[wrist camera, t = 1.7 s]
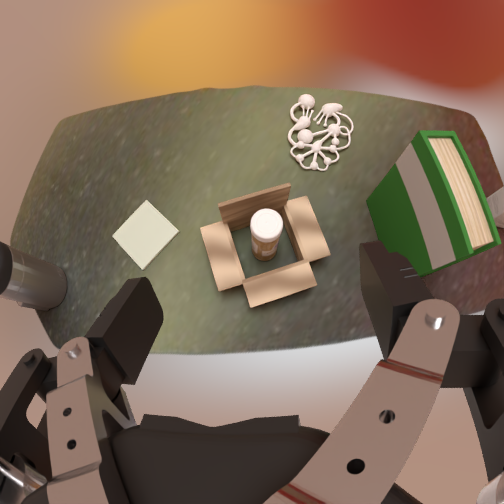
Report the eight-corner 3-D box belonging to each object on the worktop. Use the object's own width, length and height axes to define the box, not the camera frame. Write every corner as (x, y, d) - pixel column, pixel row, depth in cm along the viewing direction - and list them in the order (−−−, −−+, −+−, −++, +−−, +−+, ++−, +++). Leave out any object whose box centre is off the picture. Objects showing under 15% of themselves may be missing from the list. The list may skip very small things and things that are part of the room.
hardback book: (421, 277, 52) (501, 243, 28) (391, 286, 51) (469, 254, 28) (395, 196, 56) (454, 131, 33) (366, 200, 56) (419, 130, 33)
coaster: (143, 270, 53) (142, 269, 52) (113, 236, 55) (112, 235, 54) (179, 231, 55) (178, 230, 54) (147, 201, 56) (146, 199, 56)
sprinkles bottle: (273, 264, 53) (279, 242, 40) (248, 258, 53) (246, 234, 40) (279, 240, 54) (286, 211, 41) (254, 234, 54) (254, 204, 41)
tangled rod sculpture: (341, 184, 58) (348, 175, 54) (274, 162, 58) (277, 152, 54) (351, 117, 63) (357, 107, 59) (294, 98, 63) (297, 87, 59)
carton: (331, 282, 52) (352, 268, 40) (229, 316, 50) (221, 312, 39) (302, 206, 56) (313, 176, 44) (204, 236, 54) (191, 211, 43)
